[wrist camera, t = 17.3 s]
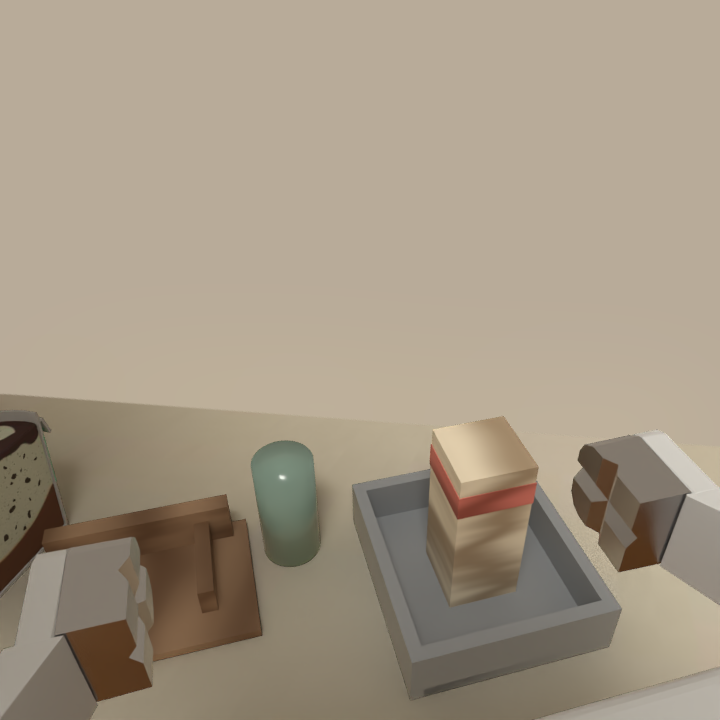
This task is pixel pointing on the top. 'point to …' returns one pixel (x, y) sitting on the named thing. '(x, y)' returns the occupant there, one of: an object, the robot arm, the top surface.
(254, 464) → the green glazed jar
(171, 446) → the top surface
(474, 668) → the grey tray
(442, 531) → the birch block
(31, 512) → the food container
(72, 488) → the top surface
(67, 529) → the walnut rack
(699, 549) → the robot arm
